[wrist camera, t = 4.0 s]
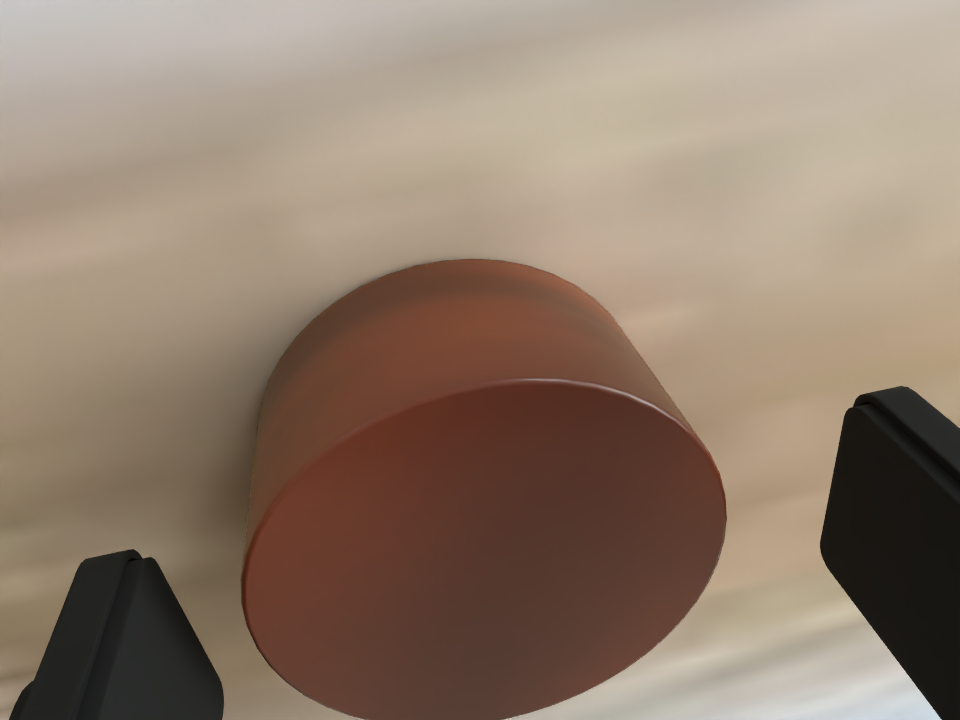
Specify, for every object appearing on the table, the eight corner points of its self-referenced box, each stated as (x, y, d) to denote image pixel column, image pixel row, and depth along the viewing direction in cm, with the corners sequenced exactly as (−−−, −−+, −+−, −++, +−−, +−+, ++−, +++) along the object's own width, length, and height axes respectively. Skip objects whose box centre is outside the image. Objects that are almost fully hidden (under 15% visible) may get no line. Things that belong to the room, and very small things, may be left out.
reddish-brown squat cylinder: (224, 548, 12) (200, 725, 9) (309, 206, 9) (306, 325, 6) (554, 581, 14) (606, 733, 11) (705, 310, 11) (819, 430, 8)
